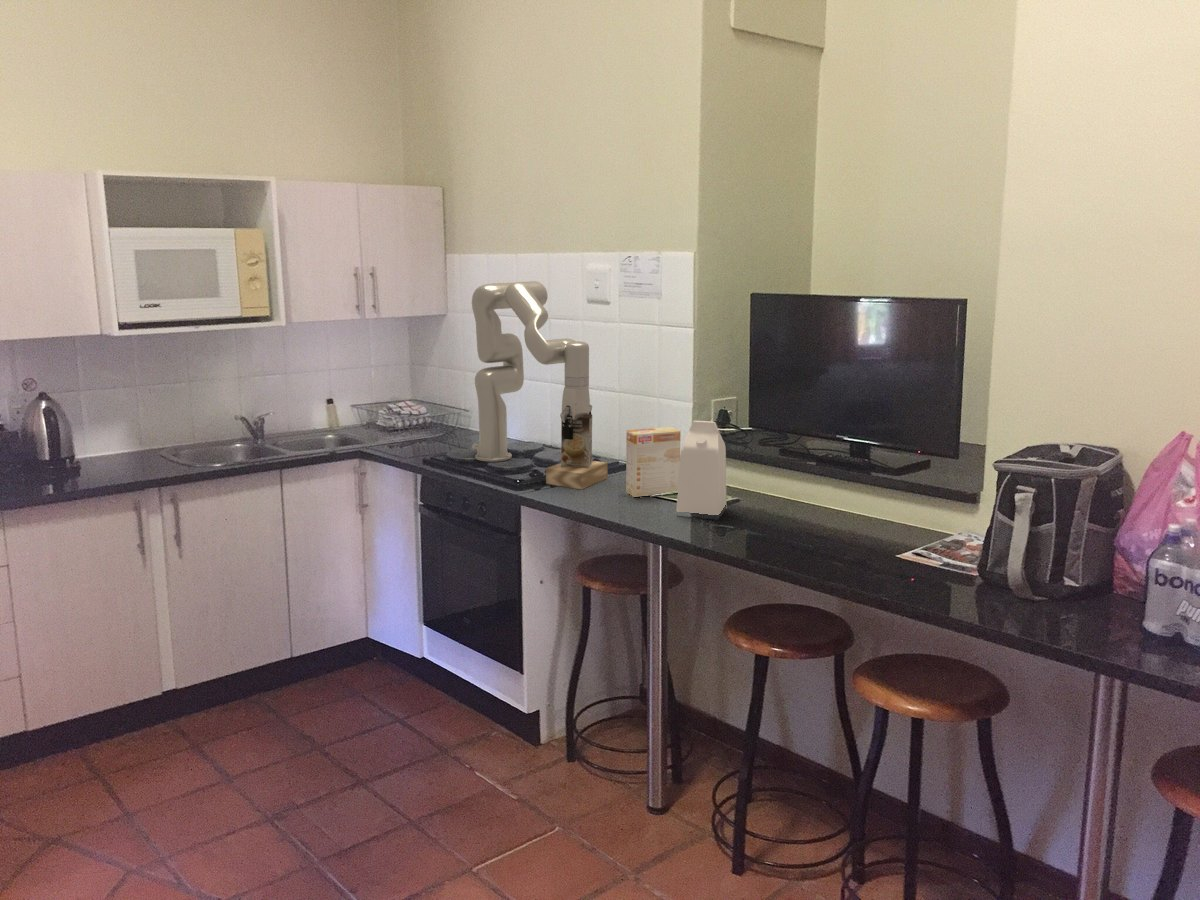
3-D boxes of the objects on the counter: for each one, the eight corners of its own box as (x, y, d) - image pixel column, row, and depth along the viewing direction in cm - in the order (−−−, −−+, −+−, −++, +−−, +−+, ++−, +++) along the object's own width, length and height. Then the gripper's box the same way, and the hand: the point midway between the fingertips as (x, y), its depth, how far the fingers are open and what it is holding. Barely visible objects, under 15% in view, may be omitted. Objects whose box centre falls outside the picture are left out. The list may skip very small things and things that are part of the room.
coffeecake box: (671, 488, 296) (672, 426, 292) (680, 494, 290) (681, 430, 285) (625, 492, 291) (625, 429, 287) (633, 498, 285) (634, 433, 280)
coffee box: (560, 467, 301) (559, 416, 298) (564, 462, 308) (564, 412, 304) (589, 468, 300) (589, 417, 296) (592, 463, 306) (592, 413, 303)
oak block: (546, 483, 301) (545, 468, 300) (572, 472, 315) (572, 458, 313) (581, 489, 295) (581, 473, 294) (607, 478, 308) (607, 462, 307)
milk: (726, 508, 275) (729, 419, 269) (718, 520, 264) (721, 426, 258) (685, 505, 278) (687, 416, 273) (675, 516, 268) (677, 424, 262)
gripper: (580, 377, 307) (580, 430, 311) (551, 384, 292) (551, 440, 296) (601, 379, 303) (600, 432, 307) (572, 387, 288) (572, 442, 292)
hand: (576, 436), depth 302 cm, fingers open, 9 cm apart
